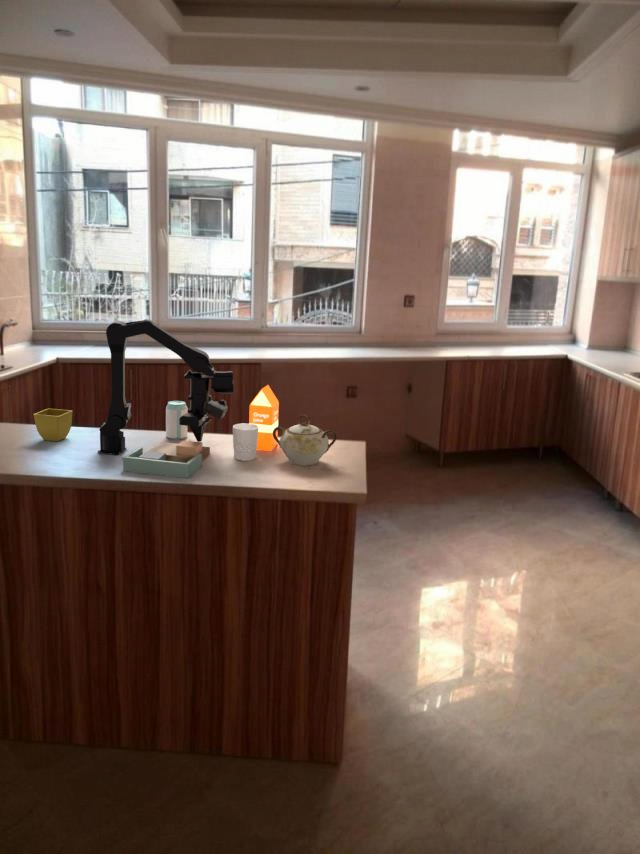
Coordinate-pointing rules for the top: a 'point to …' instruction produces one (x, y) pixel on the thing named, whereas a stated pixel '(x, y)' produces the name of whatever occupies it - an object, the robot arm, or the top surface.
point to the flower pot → (53, 423)
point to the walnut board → (172, 456)
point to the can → (175, 420)
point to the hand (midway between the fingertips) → (199, 441)
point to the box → (160, 465)
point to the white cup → (245, 441)
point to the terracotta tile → (189, 448)
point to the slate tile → (154, 455)
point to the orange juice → (265, 418)
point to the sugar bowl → (304, 442)
